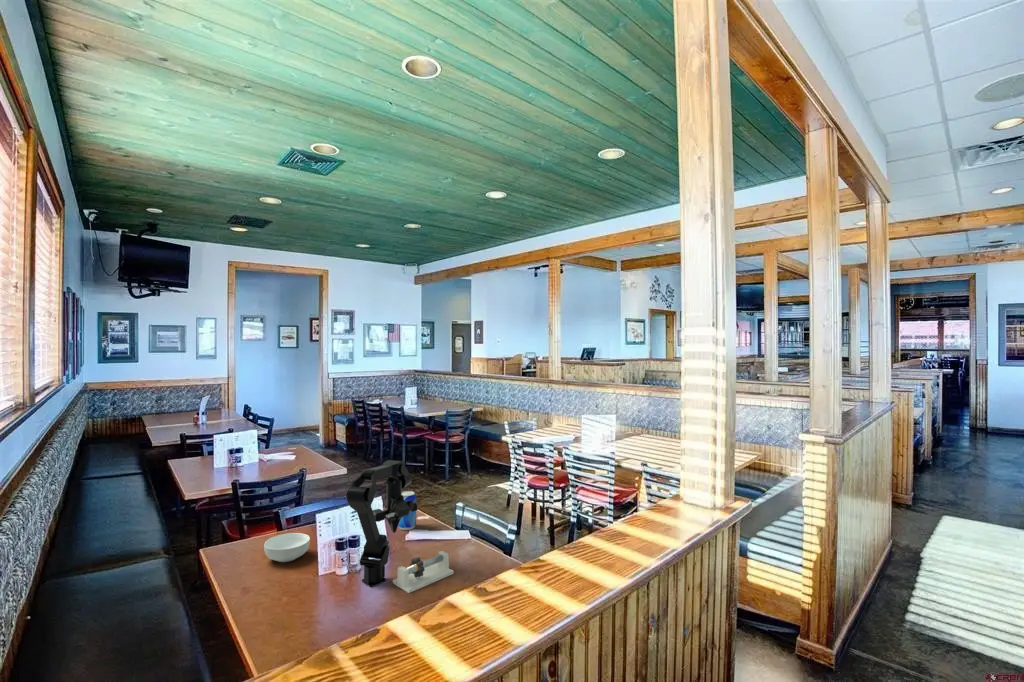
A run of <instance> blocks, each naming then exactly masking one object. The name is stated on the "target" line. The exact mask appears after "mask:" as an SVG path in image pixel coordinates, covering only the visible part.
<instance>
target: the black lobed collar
mask: <svg viewBox="0 0 1024 682" xmlns="http://www.w3.org/2000/svg"><path fill="white" fill-rule="evenodd" d="M423 561H424V560H423ZM423 561H422V560H421V558H420V557H413V558H412V559H411V560H410V564H409V565H410V566H412V565H414V564H417V566H418V567H419V568H418V571H417V572H414V573H412V574H414V576H415V577H420V576H423V572H424V567H423ZM410 566H409V567H410ZM421 566H422V567H421Z"/></svg>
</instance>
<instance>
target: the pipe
mask: <svg viewBox="0 0 1024 682" xmlns="http://www.w3.org/2000/svg"><path fill="white" fill-rule="evenodd" d="M441 561H443V556H442V555H438V554H437V555H435V556H434V557H431V558H428V559H425V560H423V567H424V568H426V567H429V566H431V565H434V564H436V563H439V562H441ZM421 567H422V566H421ZM406 568H407V569H409V574H411V573H414V572H417V571H418V568H419V567H418V566H417V564H414V565H412V566H408V567H406Z"/></svg>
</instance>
